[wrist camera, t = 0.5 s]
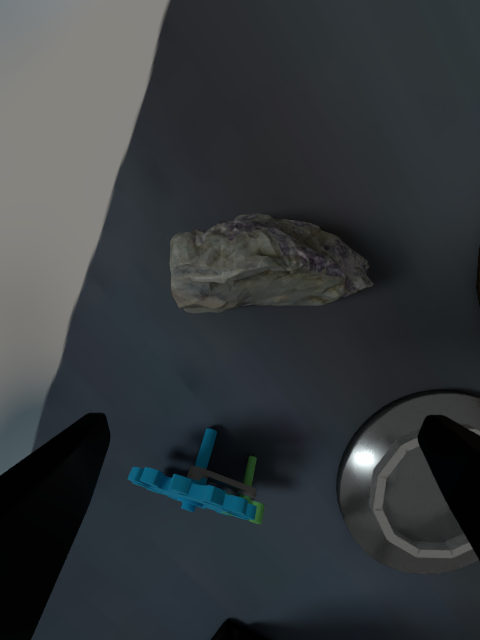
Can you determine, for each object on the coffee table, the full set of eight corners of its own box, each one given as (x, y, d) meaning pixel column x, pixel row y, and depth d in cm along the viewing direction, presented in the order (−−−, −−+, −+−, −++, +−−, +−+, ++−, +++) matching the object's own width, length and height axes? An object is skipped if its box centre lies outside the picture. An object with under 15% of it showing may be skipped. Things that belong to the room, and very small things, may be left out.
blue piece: (116, 488, 23) (135, 489, 15) (147, 419, 26) (176, 393, 19) (228, 526, 25) (293, 543, 18) (243, 458, 29) (302, 449, 21)
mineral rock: (360, 261, 22) (462, 245, 13) (292, 368, 24) (336, 431, 14) (227, 176, 21) (224, 81, 11) (162, 293, 22) (106, 301, 12)
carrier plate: (443, 591, 27) (458, 613, 25) (298, 508, 25) (304, 525, 24) (561, 452, 25) (586, 465, 24) (415, 352, 24) (430, 358, 22)
